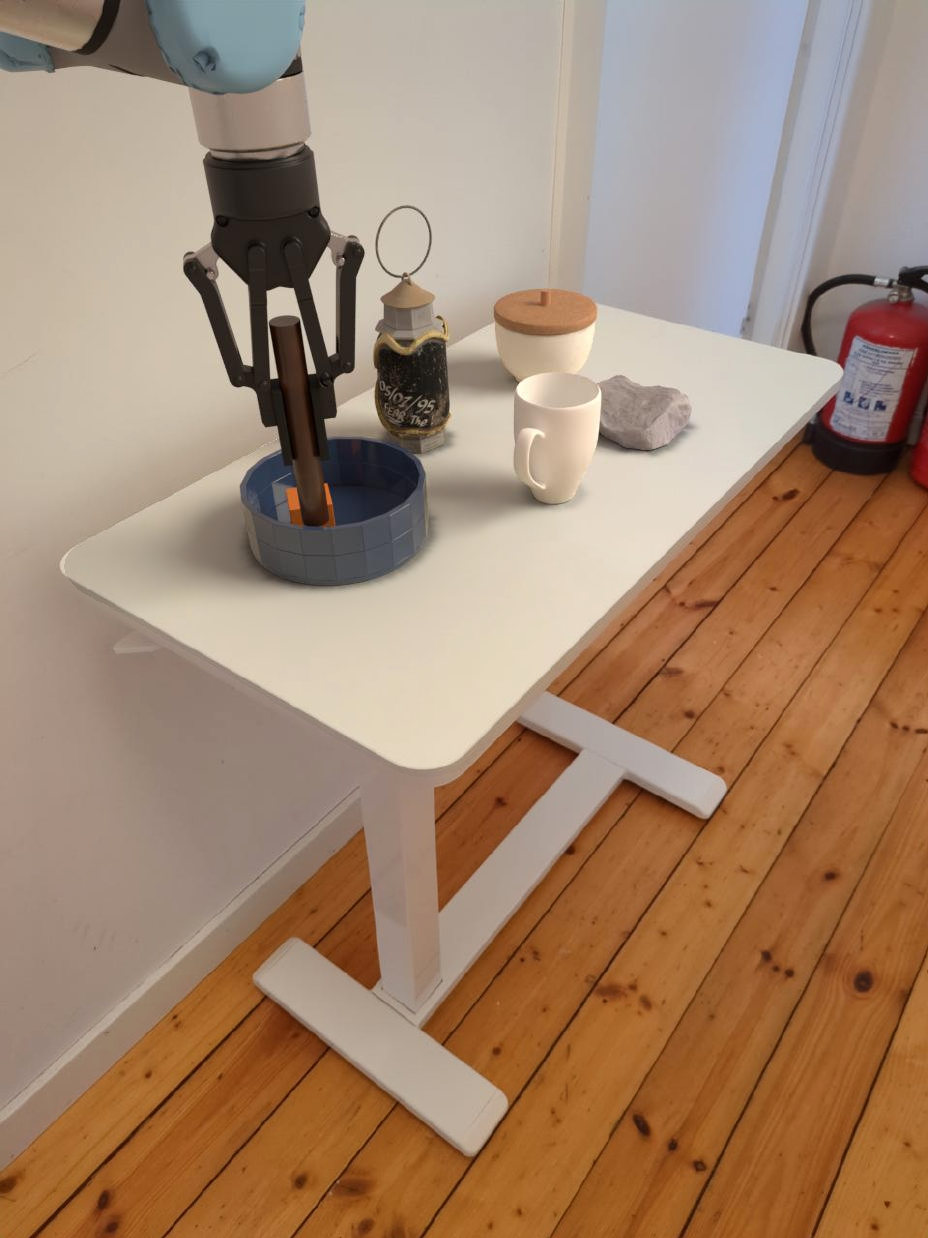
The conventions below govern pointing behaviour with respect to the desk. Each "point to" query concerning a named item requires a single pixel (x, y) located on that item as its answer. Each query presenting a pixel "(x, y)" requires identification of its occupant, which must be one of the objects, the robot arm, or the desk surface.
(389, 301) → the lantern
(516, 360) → the lidded bowl
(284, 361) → the stick
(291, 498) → the block
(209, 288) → the robot arm
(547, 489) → the mug
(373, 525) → the stir bowl
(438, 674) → the desk surface
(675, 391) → the stone block
